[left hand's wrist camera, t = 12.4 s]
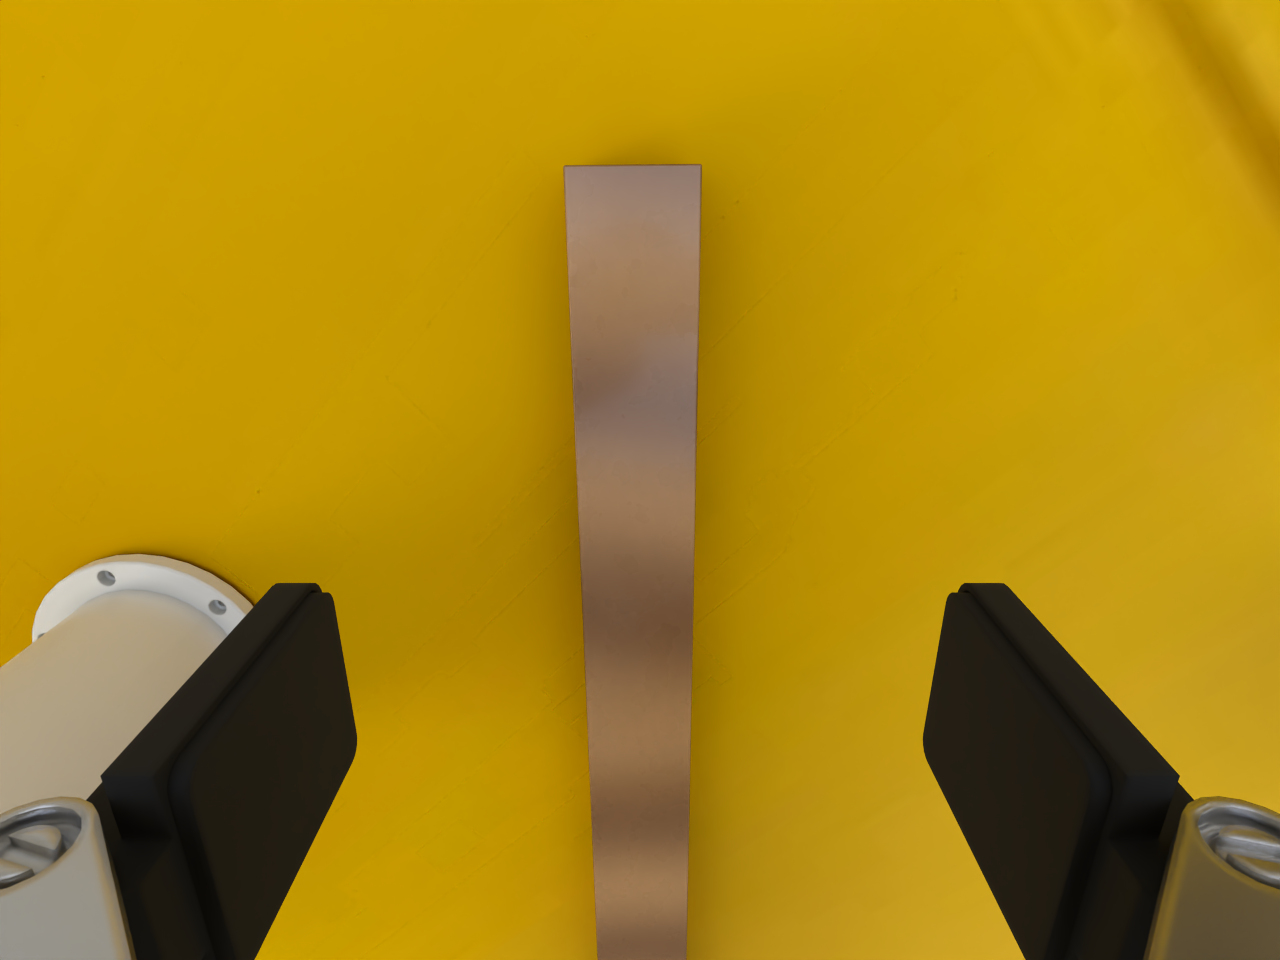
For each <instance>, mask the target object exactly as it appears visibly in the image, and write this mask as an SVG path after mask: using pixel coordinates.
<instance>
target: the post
mask: <svg viewBox="0 0 1280 960" xmlns="http://www.w3.org/2000/svg"><path fill="white" fill-rule="evenodd" d="M563 171H564V194H565V217H566V240H567V263H568V286H569V309H570V332H571V355H572V379H573V402H574V425H575V448H576V471H577V494H578V517H579V540H580V563H581V586H582V609H583V632H584V655H585V679H586V702H587V725H588V748H589V771H590V794H591V817H592V840H593V863H594V886H595V909H596V932H597V955H598V960H686V950H687V899H688V848H689V797H690V746H691V695H692V644H693V593H694V542H695V491H696V440H697V389H698V338H699V287H700V236H701V185H702V165H701V164H652V165H565V166H564V167H563Z"/></svg>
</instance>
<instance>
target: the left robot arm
mask: <svg viewBox="0 0 1280 960" xmlns="http://www.w3.org/2000/svg"><path fill="white" fill-rule="evenodd" d="M356 747H357V733H356V727H355V721H354V716H353V710H352V704H351V698H350V692H349V687H348V681H347V675H346V669H345V664H344V658H343V652H342V646H341V640H340V635H339V629H338V623H337V617H336V611H335V606H334V601H333V598H332V596H331V594H330V593H322V590H321V588H320V587H319V585H317V584H316V583H276V584H275V585H274V586H272V587H271V588H270V589H269V590H268V592H267V593H266V594H265V595H264V596H263V597H262V598H261V599H260V600H259V601H258V603H257V604H256V605H255V606H254V607H253V606H252V604H251V603H250V602H249V601H248V600H247V599H246V598H244V597H243V596H242V595H241V594H240V593H239V592H237V591H236V590H235V589H234V588H233V587H232V586H230V585H229V584H227V583H225V582H224V581H222V580H221V579H219V578H218V577H216V576H214V575H213V574H211V573H209V572H207V571H205V570H202V569H200V568H198V567H196V566H193V565H191V564H189V563H186V562H182V561H178V560H175V559H171V558H167V557H164V556H155V555H146V554H128V555H115V556H111V557H107V558H103V559H99V560H95V561H93V562H91V563H89V564H87V565H85V566H83V567H81V568H79V569H77V570H75V571H74V572H73V573H71V574H70V575H68V576H67V577H66V578H64V579H63V580H61V581H60V582H58V583H57V584H56V585H55V586H54V587H53V588H52V590H51V591H50V592H49V593H48V594H47V595H46V596H45V597H44V599H43V601H42V603H41V605H40V607H39V608H38V610H37V612H36V616H35V620H34V624H33V629H32V644H31V645H29V646H28V647H27V648H25V649H24V650H23V651H22V652H20V653H19V654H18V655H16V656H15V657H14V658H12V659H11V660H10V661H8V662H7V663H6V664H4V665H3V666H2V667H0V960H254V959H255V958H256V956H257V954H258V952H259V950H260V948H261V946H262V944H263V941H264V939H265V937H266V935H267V933H268V931H269V929H270V927H271V925H272V923H273V921H274V919H275V917H276V915H277V913H278V911H279V909H280V907H281V905H282V903H283V901H284V899H285V897H286V895H287V893H288V891H289V889H290V887H291V885H292V883H293V881H294V879H295V877H296V875H297V873H298V871H299V869H300V867H301V865H302V863H303V861H304V859H305V857H306V855H307V853H308V851H309V849H310V847H311V845H312V843H313V841H314V838H315V836H316V834H317V832H318V830H319V828H320V826H321V824H322V822H323V820H324V818H325V816H326V814H327V812H328V810H329V808H330V806H331V804H332V802H333V800H334V798H335V796H336V794H337V792H338V790H339V788H340V786H341V784H342V782H343V780H344V778H345V776H346V774H347V772H348V770H349V768H350V766H351V764H352V762H353V759H354V756H355V753H356ZM923 747H924V753H925V756H926V759H927V762H928V764H929V766H930V768H931V770H932V772H933V774H934V776H935V778H936V780H937V782H938V784H939V786H940V788H941V790H942V792H943V794H944V796H945V798H946V800H947V802H948V804H949V806H950V808H951V810H952V812H953V814H954V816H955V818H956V820H957V822H958V824H959V826H960V828H961V830H962V832H963V834H964V836H965V838H966V841H967V843H968V845H969V847H970V849H971V851H972V853H973V855H974V857H975V859H976V861H977V863H978V865H979V867H980V869H981V871H982V873H983V875H984V877H985V879H986V881H987V883H988V885H989V887H990V889H991V891H992V893H993V895H994V897H995V899H996V901H997V903H998V905H999V907H1000V909H1001V911H1002V913H1003V915H1004V917H1005V919H1006V921H1007V923H1008V925H1009V927H1010V929H1011V931H1012V933H1013V935H1014V937H1015V939H1016V941H1017V944H1018V946H1019V948H1020V950H1021V952H1022V954H1023V956H1024V958H1025V959H1026V960H1280V814H1278V813H1276V812H1274V811H1272V810H1270V809H1268V808H1266V807H1263V806H1259V805H1256V804H1253V803H1250V802H1247V801H1244V800H1240V799H1233V798H1227V797H1220V796H1216V797H1202V798H1199V799H1196V800H1194V799H1193V798H1192V797H1191V796H1190V795H1189V794H1188V793H1187V792H1186V791H1185V789H1184V788H1183V787H1182V786H1181V785H1180V784H1179V783H1178V780H1179V777H1180V776H1179V774H1178V773H1177V772H1176V771H1175V770H1174V769H1173V768H1172V767H1171V766H1170V765H1169V763H1168V762H1167V761H1166V760H1165V759H1164V758H1163V757H1162V756H1161V755H1160V754H1159V752H1158V751H1157V750H1156V749H1155V748H1154V747H1153V746H1152V745H1151V744H1150V743H1149V741H1148V740H1147V739H1146V738H1145V737H1144V736H1143V735H1142V734H1141V733H1140V732H1139V730H1138V729H1137V728H1136V727H1135V726H1134V725H1133V724H1132V723H1131V722H1130V720H1129V719H1128V718H1127V717H1126V716H1125V715H1124V714H1123V713H1122V712H1121V711H1120V709H1119V708H1118V707H1117V706H1116V705H1115V704H1114V703H1113V702H1112V701H1111V700H1110V698H1109V697H1108V696H1107V695H1106V694H1105V693H1104V692H1103V691H1102V690H1101V689H1100V687H1099V686H1098V685H1097V684H1096V683H1095V682H1094V681H1093V680H1092V679H1091V678H1090V676H1089V675H1088V674H1087V673H1086V672H1085V671H1084V670H1083V669H1082V668H1081V667H1080V665H1079V664H1078V663H1077V662H1076V661H1075V660H1074V659H1073V658H1072V657H1071V655H1070V654H1069V653H1068V652H1067V651H1066V650H1065V649H1064V648H1063V647H1062V646H1061V644H1060V643H1059V642H1058V641H1057V640H1056V639H1055V638H1054V637H1053V636H1052V635H1051V633H1050V632H1049V631H1048V630H1047V629H1046V628H1045V627H1044V626H1043V625H1042V624H1041V622H1040V621H1039V620H1038V619H1037V618H1036V617H1035V616H1034V615H1033V614H1032V613H1031V611H1030V610H1029V609H1028V608H1027V607H1026V606H1025V605H1024V604H1023V603H1022V601H1021V600H1020V599H1019V598H1018V597H1017V596H1016V595H1015V594H1014V593H1013V592H1012V590H1011V589H1010V588H1009V587H1008V586H1006V585H1005V584H1004V583H964V584H963V585H961V587H960V588H959V590H958V593H950V594H949V596H948V598H947V601H946V606H945V611H944V617H943V623H942V629H941V635H940V640H939V646H938V652H937V658H936V664H935V669H934V675H933V681H932V687H931V692H930V698H929V704H928V710H927V716H926V721H925V727H924V733H923Z"/></svg>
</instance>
